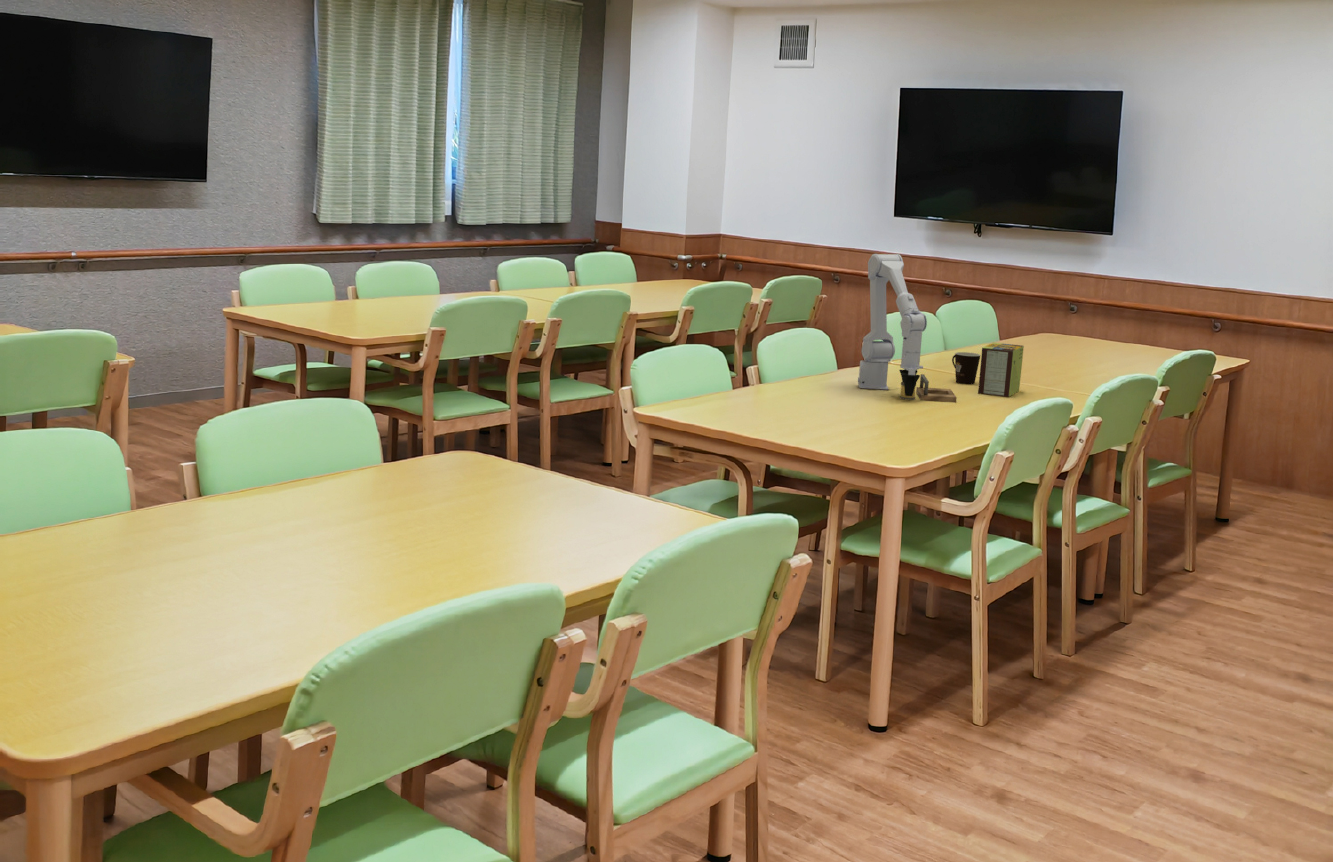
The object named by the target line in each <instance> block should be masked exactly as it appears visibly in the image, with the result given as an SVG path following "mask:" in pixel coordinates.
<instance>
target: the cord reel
mask: <svg viewBox="0 0 1333 862" xmlns="http://www.w3.org/2000/svg"><path fill="white" fill-rule="evenodd" d="M916 387H917V384H916V385H915V388H914V392H913V395H912V396H905V389H904V382H902V381H900V389H901V390H900V395H899V399H901V400H906V401H907V400H908V401H913V400H916Z"/></svg>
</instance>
